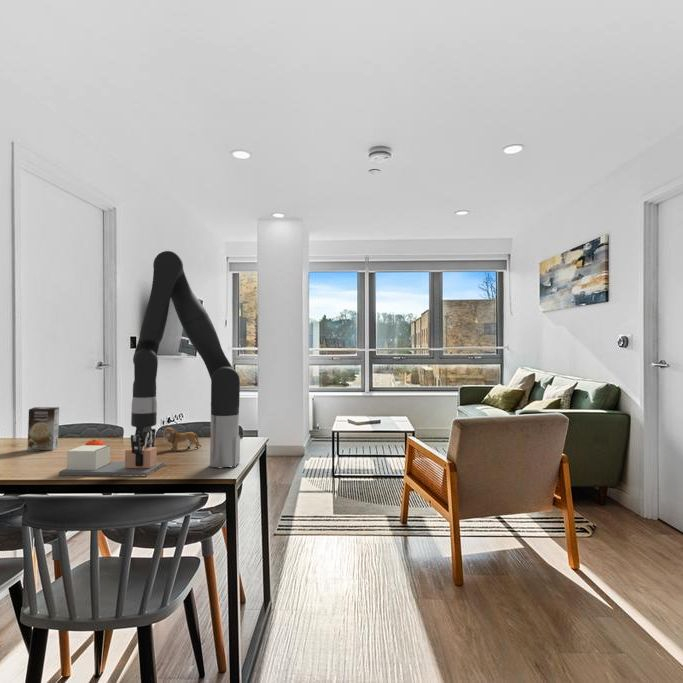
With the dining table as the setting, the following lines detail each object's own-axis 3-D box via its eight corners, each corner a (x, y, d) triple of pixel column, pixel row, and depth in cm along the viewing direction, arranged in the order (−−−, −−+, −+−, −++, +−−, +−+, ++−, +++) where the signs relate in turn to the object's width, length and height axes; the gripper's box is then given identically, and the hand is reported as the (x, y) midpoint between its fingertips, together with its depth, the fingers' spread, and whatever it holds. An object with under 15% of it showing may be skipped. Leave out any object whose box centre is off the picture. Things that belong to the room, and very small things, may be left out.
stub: (156, 464, 156) (156, 447, 156) (150, 468, 151) (150, 450, 151) (131, 464, 156) (132, 447, 156) (124, 468, 151) (125, 450, 151)
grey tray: (163, 465, 160) (164, 444, 160) (146, 476, 146) (147, 453, 146) (83, 464, 160) (84, 443, 161) (58, 475, 146) (59, 452, 147)
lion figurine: (164, 452, 181) (164, 428, 181) (161, 450, 186) (161, 426, 186) (203, 448, 189) (203, 426, 189) (199, 446, 193) (199, 424, 194)
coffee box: (26, 451, 180) (27, 409, 181) (32, 448, 187) (33, 407, 187) (53, 450, 183) (54, 408, 183) (58, 447, 189) (59, 406, 189)
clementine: (91, 456, 173) (91, 436, 174) (110, 456, 173) (110, 436, 174) (78, 461, 165) (79, 440, 166) (98, 461, 165) (99, 440, 166)
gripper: (146, 413, 147) (145, 469, 146) (164, 408, 161) (163, 459, 160) (122, 413, 147) (120, 469, 146) (142, 408, 161) (140, 458, 161)
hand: (143, 463), depth 153 cm, fingers closed on stub, 5 cm apart
